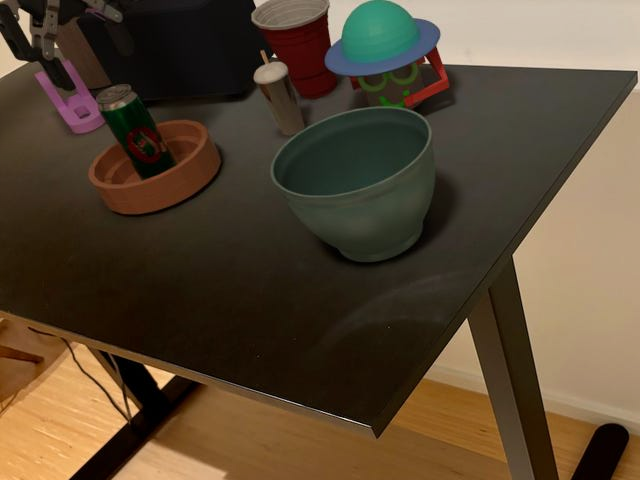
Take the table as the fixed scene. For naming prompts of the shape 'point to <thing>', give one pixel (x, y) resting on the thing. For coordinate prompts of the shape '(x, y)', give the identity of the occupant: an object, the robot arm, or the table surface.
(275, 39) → the plastic cup
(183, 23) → the speaker
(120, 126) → the soda can
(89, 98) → the bracket
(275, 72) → the milkshake
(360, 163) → the flower pot
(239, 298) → the table surface
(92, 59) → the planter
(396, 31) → the toy robot
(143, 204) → the terracotta plant saucer
